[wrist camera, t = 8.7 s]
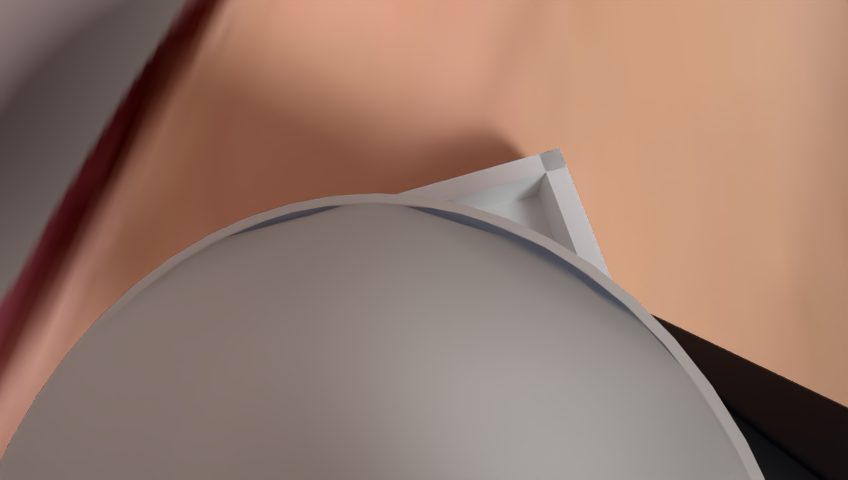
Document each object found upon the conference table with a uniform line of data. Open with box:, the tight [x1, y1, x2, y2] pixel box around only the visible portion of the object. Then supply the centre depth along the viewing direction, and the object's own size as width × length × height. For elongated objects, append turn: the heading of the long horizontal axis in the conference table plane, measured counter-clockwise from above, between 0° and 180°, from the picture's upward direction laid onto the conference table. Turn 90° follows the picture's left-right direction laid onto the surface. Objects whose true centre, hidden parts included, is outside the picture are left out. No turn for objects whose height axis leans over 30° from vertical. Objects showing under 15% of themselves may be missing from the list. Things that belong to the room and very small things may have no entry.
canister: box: [0, 193, 765, 480], centre depth 9 cm, size 7×7×13 cm
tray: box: [398, 148, 612, 280], centre depth 15 cm, size 16×14×3 cm
